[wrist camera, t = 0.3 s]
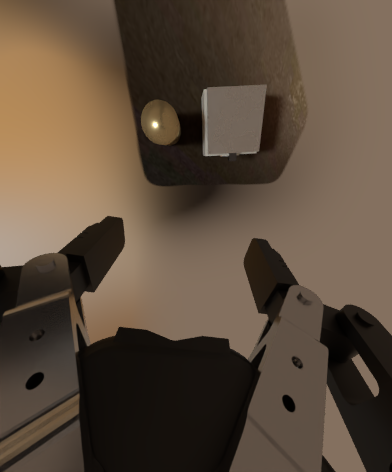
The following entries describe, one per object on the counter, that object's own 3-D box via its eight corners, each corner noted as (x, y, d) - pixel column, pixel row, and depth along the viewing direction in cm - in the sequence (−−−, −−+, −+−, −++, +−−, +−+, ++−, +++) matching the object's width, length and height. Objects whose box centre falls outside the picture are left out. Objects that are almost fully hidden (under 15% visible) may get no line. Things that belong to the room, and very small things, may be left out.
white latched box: (201, 98, 29) (204, 89, 25) (252, 95, 29) (263, 86, 25) (203, 156, 33) (205, 157, 29) (247, 154, 33) (256, 154, 29)
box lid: (204, 96, 27) (207, 87, 23) (255, 93, 27) (266, 84, 23) (205, 160, 31) (208, 162, 28) (249, 158, 31) (258, 159, 28)
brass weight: (152, 114, 30) (137, 100, 21) (179, 113, 30) (176, 98, 21) (156, 146, 32) (145, 145, 23) (182, 144, 32) (180, 143, 23)
